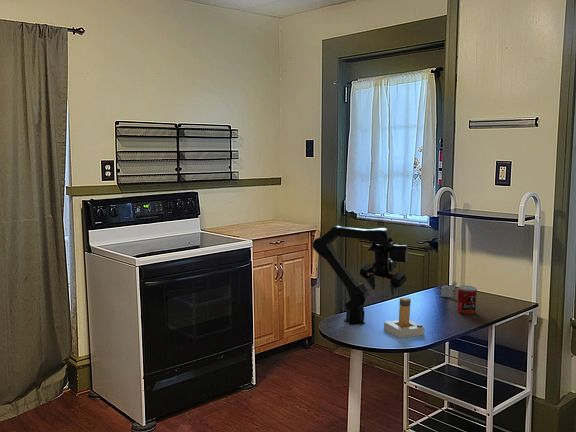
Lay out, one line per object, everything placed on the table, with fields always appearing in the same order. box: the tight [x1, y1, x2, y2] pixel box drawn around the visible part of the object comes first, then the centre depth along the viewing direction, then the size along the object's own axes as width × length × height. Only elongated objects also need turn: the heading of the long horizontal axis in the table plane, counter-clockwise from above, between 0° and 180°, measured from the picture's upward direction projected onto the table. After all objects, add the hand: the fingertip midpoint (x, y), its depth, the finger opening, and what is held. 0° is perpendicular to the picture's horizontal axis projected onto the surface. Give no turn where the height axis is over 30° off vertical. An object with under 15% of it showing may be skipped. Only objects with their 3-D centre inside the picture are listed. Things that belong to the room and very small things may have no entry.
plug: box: [398, 297, 412, 328], centre depth 220 cm, size 4×4×13 cm
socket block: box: [383, 319, 426, 339], centre depth 221 cm, size 11×11×4 cm
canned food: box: [456, 284, 478, 315], centre depth 250 cm, size 8×8×11 cm
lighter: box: [440, 281, 458, 299], centre depth 274 cm, size 7×2×8 cm, turn 51°
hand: (383, 292), depth 233 cm, fingers open, 9 cm apart
